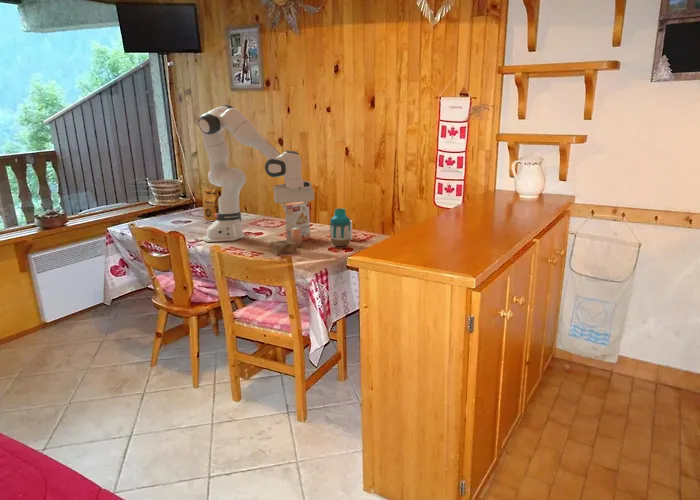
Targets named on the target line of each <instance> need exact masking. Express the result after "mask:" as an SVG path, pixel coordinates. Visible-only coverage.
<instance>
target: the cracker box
mask: <svg viewBox="0 0 700 500" xmlns="http://www.w3.org/2000/svg"><path fill="white" fill-rule="evenodd" d="M304 204H305V203H304V201H303V202H290V203H285V205H284V206H285V208H287V209H288V212H285V213H284V214H285V233H286V234H285V235H286V239H285V240H291V241H292V236H291V229H292V228H295V227H299V228H300V229H301V233H302V242H303V241H306V240H309V239H311V225H310V223H311V221H310V219H311V218H310V201H308V204H307V206H306V210H302V206H304Z"/></svg>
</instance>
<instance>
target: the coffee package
mask: <svg viewBox="0 0 700 500" xmlns="http://www.w3.org/2000/svg"><path fill="white" fill-rule="evenodd" d="M204 192H205V194H204V196H203V199H202V207H203V217H204V220H205V219H206V220H213V221H216V217H215V216H214V215H215V213H217V214H218V213H219V203H218V199H219V197H220V195H219V192H218V190H217V189H211V188H210V189H207V188H205V189H204ZM206 220H205V221H206Z"/></svg>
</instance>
